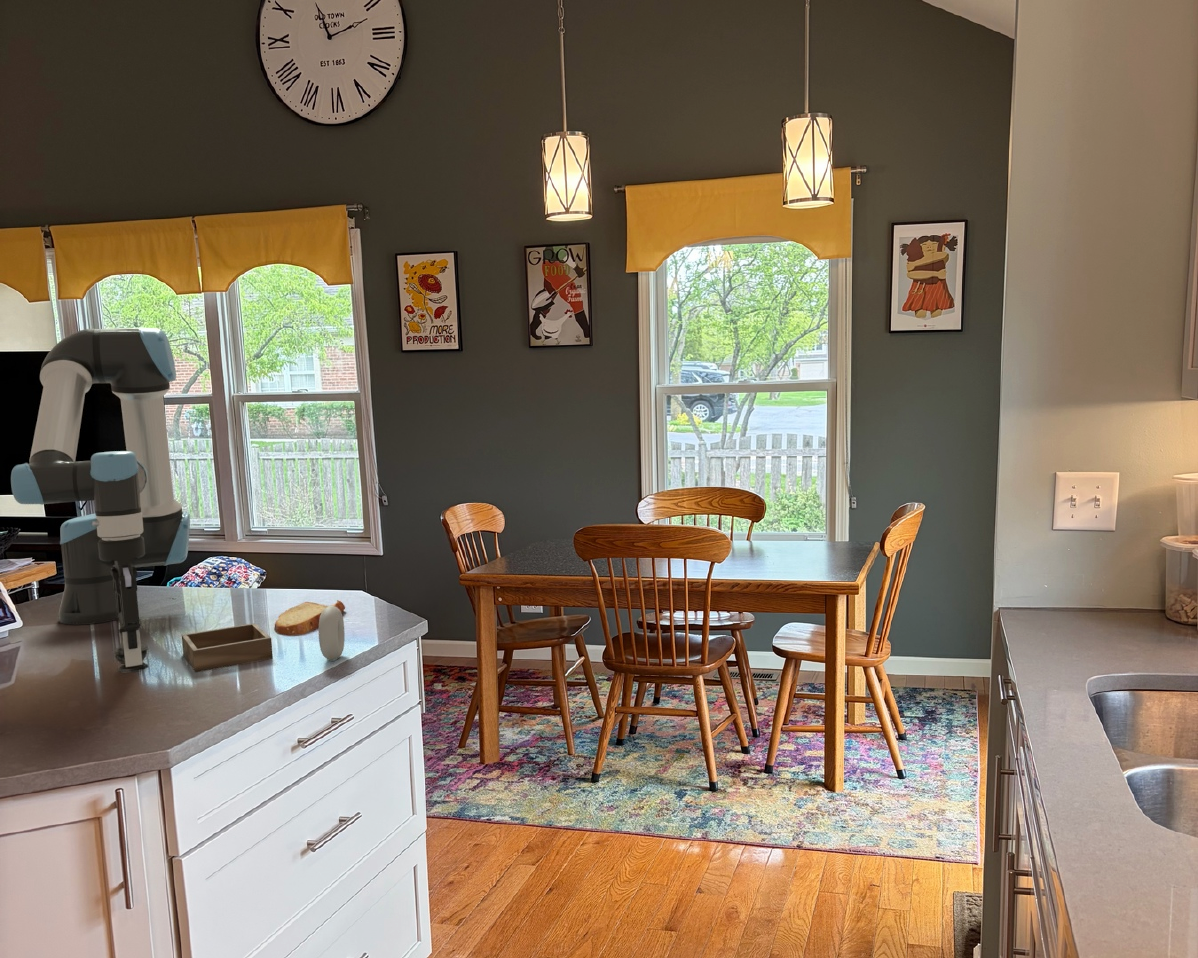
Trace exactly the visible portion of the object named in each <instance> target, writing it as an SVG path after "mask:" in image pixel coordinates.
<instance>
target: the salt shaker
mask: <svg viewBox="0 0 1198 958" xmlns="http://www.w3.org/2000/svg"><path fill="white" fill-rule="evenodd" d="M119 620H120V623H119V624H120V629H123V621H122V612H120V613H119ZM132 623H134V622H132ZM140 629H141V627H140V628H139V630H140ZM117 630H118V632H119V629H117ZM120 636H121V644H120V645H119V647H117V648H115V649H114V650H113V651H112V654H114V657H115V659H116V661H117V662H118V663H120V664H122V665H119V667H117V669H116V672H117V673H123V674H125V673H126V674H127V673H128V674H129V673H135V672H139V671H143V670H145V669H147V668H148V667H149V664H148V663H145V662H143V660H145V658H146V656H147V653H148V651H147V650H148V649H149V646H148V645H146V644H142V643H141V654H142V665H136V666H130V667H126V666H125V655H124V644H123V633H120V634H119V637H120Z"/></svg>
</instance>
